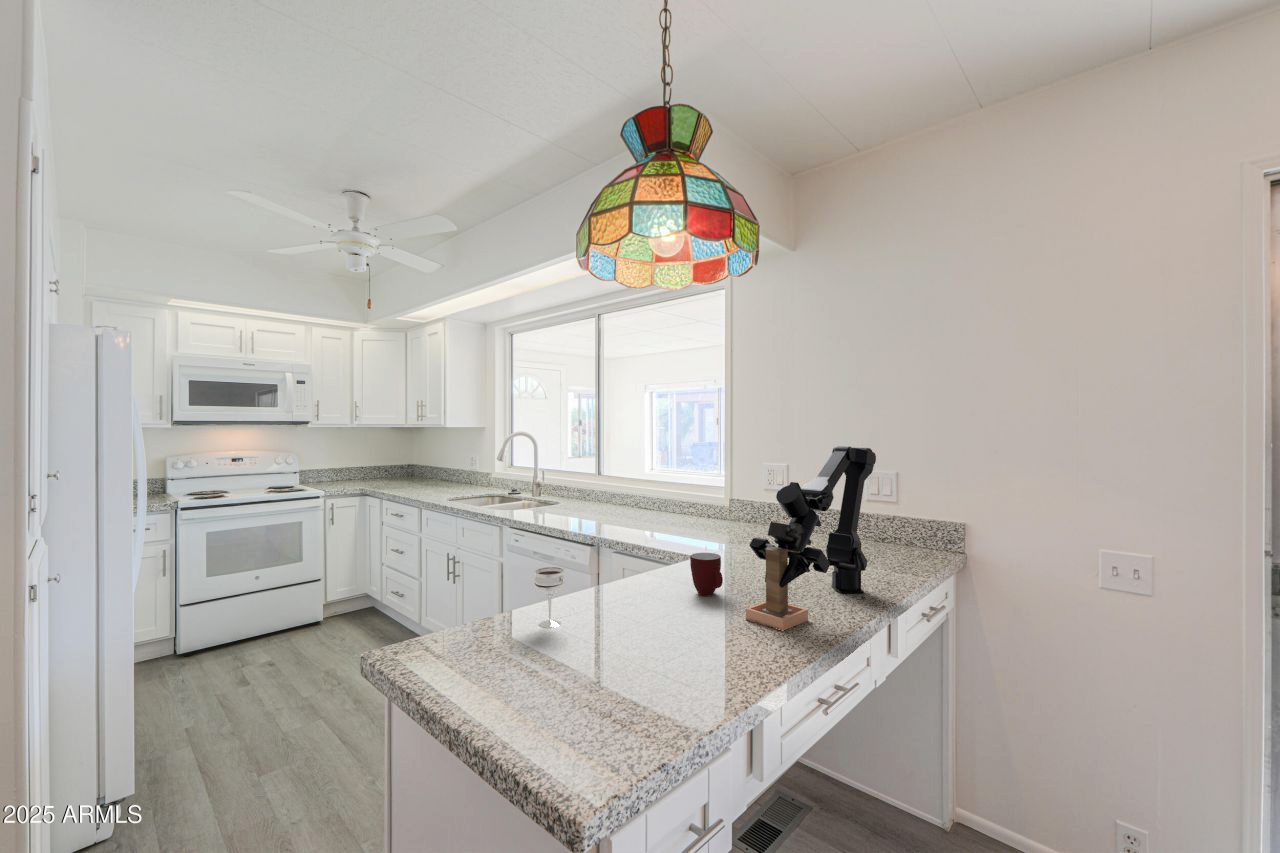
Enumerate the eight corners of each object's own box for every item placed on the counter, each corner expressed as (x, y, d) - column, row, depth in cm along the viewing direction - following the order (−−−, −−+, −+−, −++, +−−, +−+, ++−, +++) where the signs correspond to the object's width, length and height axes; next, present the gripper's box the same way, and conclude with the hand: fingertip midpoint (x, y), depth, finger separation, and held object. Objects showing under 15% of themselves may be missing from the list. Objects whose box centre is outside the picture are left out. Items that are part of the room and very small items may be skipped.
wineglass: (566, 627, 121) (566, 573, 121) (535, 630, 120) (535, 576, 120) (563, 617, 128) (562, 566, 128) (533, 619, 126) (533, 568, 126)
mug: (734, 596, 143) (734, 558, 142) (712, 602, 138) (712, 563, 138) (705, 587, 151) (705, 551, 151) (684, 592, 146) (684, 555, 146)
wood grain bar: (774, 607, 129) (773, 545, 129) (792, 612, 125) (792, 549, 125) (761, 612, 126) (761, 549, 125) (780, 617, 122) (779, 552, 122)
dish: (771, 609, 132) (771, 599, 132) (808, 620, 125) (808, 609, 125) (745, 619, 126) (745, 608, 126) (783, 631, 118) (783, 620, 118)
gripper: (753, 504, 135) (725, 556, 128) (822, 513, 121) (795, 572, 114) (772, 532, 140) (746, 583, 133) (840, 543, 126) (815, 601, 119)
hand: (773, 584), depth 124 cm, fingers closed on wood grain bar, 3 cm apart
